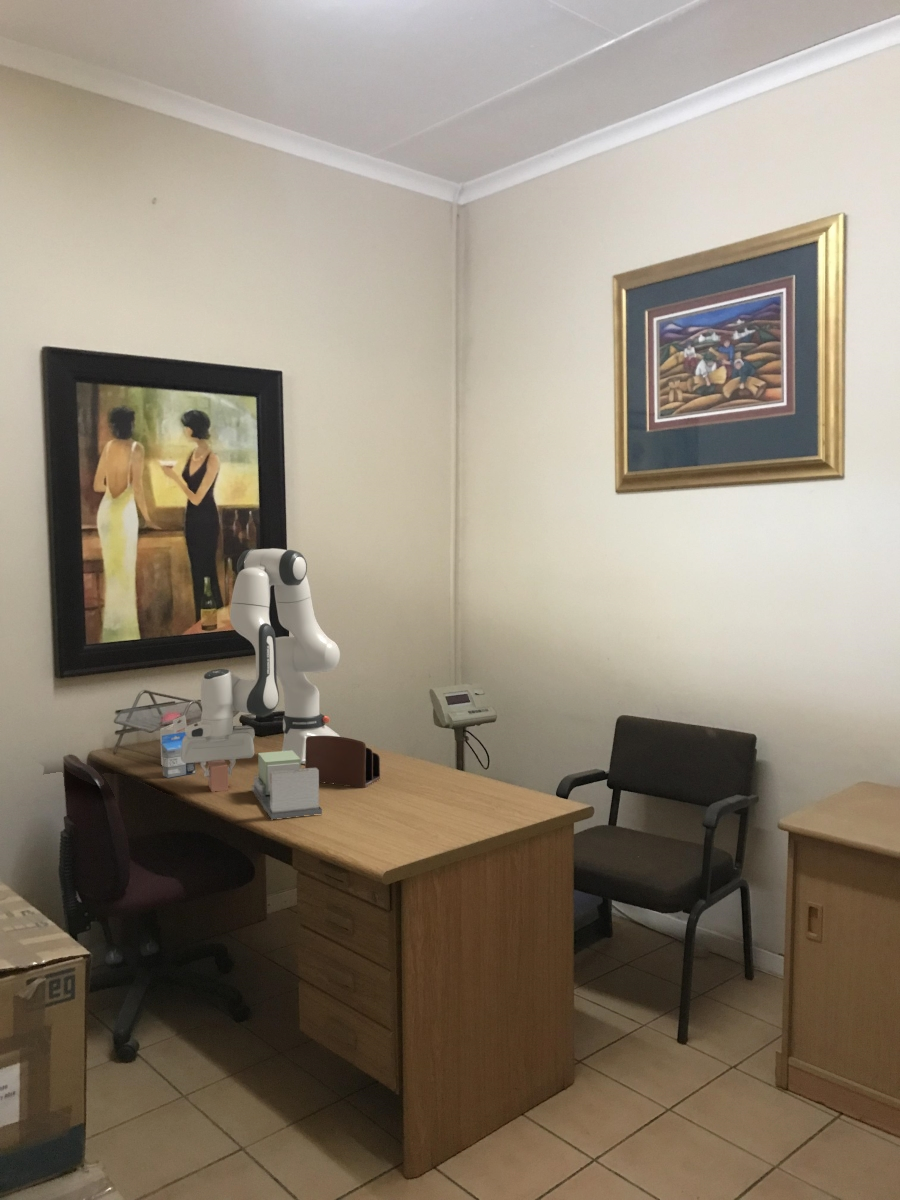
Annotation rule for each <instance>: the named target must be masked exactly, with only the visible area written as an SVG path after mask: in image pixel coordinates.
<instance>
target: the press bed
mask: <svg viewBox="0 0 900 1200" xmlns="http://www.w3.org/2000/svg"><path fill="white" fill-rule="evenodd" d="M253 781H254V783H253V785H251V791H252V793H253V792H254V793H253V795H254V794H255V795H256V796H255V795H254V796H255V797H257V798H256V799H257V801H258V800H259V801H258V802H259V804H260V803H261V804H260V805H261V807H262V806H263V807H262V808H263V810H264V809H265V810H264V812H265V813H266V812H267V813H268V815H269V816H270V818H271V819H277V818H287V817H296V816H304V815H314V814H322V813H323V812H322V811H323V810H322V808H321V807H320V792H319V791H320V782H319V770H318V769H317V768H305V767H304V768H301V769H294V770H283V771H272V772H270V795H266V788H265V786H264V784H263V783H262V782H261V780H260V779H259V777H258V775H256V774H255V775H253ZM267 813H266V814H267ZM268 815H267V816H268ZM322 815H323V814H322ZM269 816H268V817H269ZM270 818H269V819H270ZM271 819H270V820H271Z"/></svg>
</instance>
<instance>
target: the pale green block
mask: <svg viewBox="0 0 900 1200" xmlns="http://www.w3.org/2000/svg"><path fill="white" fill-rule="evenodd" d="M257 758H258V760H257V762H258V763H257V764H258V767H257V768H258V769H257V770H258V771H257V773H258V775H257V776H258V777H259V779H260V780H261V782H262V783H263V784H264V786H265V788H266V795H270V772H272V771H283V770H294V769H302V767H301V765H302V764H301V759H300V758H299V757H298V756H297V755H296V754H295V753H294V752H293V751H292V750H290V751H282V750H280V751H268V752H267V751H266V752H258V753H257Z"/></svg>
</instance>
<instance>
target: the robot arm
mask: <svg viewBox="0 0 900 1200" xmlns="http://www.w3.org/2000/svg"><path fill="white" fill-rule="evenodd" d="M236 570H237V575H236V579H235V583H234V585H233V588H232V596H231V601H230V607H229V608H230V609H229V620H230V625H231V626H232V628H233V629H234V631H236V633H238V634H239V635H240V636H242V637H244V639H246V640H247V641H249V642H250V644H252V646H253V648H254V652H255V679H249V678H245V677H240V676H238V675H235V674H233V673H232V672H231V671H230V670H229V669H226V668H217V669H212V670H209V671H207V672H206V673H204V675H203V676H202V679H201V685H200V704H201V707H202V708H201V709H202V710H201V717H200V721H199V720H198V721H197V722H194V723H192V724H189V725H187V726H186V727H185V734H186V736H185V737H184V738H183V740H182V745H181V760H182V761H183V762H184V763H194V762H195V763H199V765H200V766H201V768H202V769H203V771H204V772H203V773H204V774H203V775H204V778H208V777H210V769H208V768H207V767H206V766H207V762H210V761H222V760H224V761H229V765H228V776H232V774H233V768H234V766H235V764H236V761H237V760H238V759H239V760H240V759H251V758H253V757H254V755H255V746H254V739H255V737H256V736H255V734H256V732H255V729H254V727H253V726H250V725H247V724H245V725H234V714H233V712H235V711H236V712H239V713H247V714H251V715H254V716H257V717H262V718H263V717H264V718H265V717H267V716H269V715H271V714H272V713H273V712H274V711H275V709H276V708H277V707H278V705H279V702H280V692H279V687H278V679H279V682H280V684H281V687H282V691H283V702H284V714H283V716H282V717H283V718H282V731H283V743H282V749H281V751H290V750H292V751H293V752H294V753H295V754H296V755H297V756H298V757H299V758H300V759H301V765H305V759H306V738H307V737H309V736H338V737H341V736H340V734H339V733H337V732H336V731H334V730H333V729H332V728H330V727H329V726H328V725H326V724H329V723H330V717H329V716H328V715H327V716H326V715H324V714H322V713H320V691H319V689H318V687H317V685H315V684H313V683H312V682H311V681H310V680H309V679H308V678H307V676H306V673H313V674H314V673H315V674H318V673H319V674H321V673H327V672H332V671H334V670H335V669H336V668H337V666H338V665H339V662H340V659H341V651H340V648H339V646H338V645H337V643H336V642H335V641H334V640H332V639H331V638H330V637H329V636H327V635H326V633H325V632H324V631H323V629H322V628H321V627H320V625H319V623H318V621H317V618H316V616H315V610H314V607H313V606H314V605H313V601H312V593H311V587H310V583H309V580H308V576H307V572H308V564H307V561H306V558H305V557H304V555H303V554H302V553H301V552H299V551H296V550H293V549H283V548H274V547H273V548H261V549H257V548H251V549H247V550H244V551H243V552H242V553H241V554H240V556H239V558H238V560H237V563H236ZM272 586H274V590H273V591H274V599H275V605H276V611H277V617H278V622H279V624H280V625H281V627H282V628H284V629H285V630H287V631H288V632H290V633H291V634H292V636H278V637H276V633H275V632H276V631H275V629H274V628H273V626H272V625H271V621H270V606H271V605H270V604H271V587H272ZM277 678H278V679H277Z"/></svg>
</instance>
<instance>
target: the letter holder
mask: <svg viewBox="0 0 900 1200" xmlns="http://www.w3.org/2000/svg"><path fill="white" fill-rule="evenodd" d="M380 759H381V757H380V755H379V754H378V753H376V752H374V751H373V750H372V749H371V748H369V747H367V745H366V743H365V742H364V741H362V740H358V739H354V738H349V737H344V736H340V737H338V736H309V737H307V738H306V759H305V764H304V765H305V767H304V769H305V768H317V769H318V770H319V783H321V782H325V783H324V784H329V783H334V784H333V785H336V784H342V785H341V786H344V785H350V786H349V787H353V786H357V787H356V788H361V787H365V788H367V787H369V786H371V785H373V784H374V782H375V783H376V782H378V781H380V780H381V765H380V764H381V760H380ZM379 779H380V780H379ZM377 780H378V781H377ZM372 783H373V784H372ZM370 784H371V785H370ZM368 785H369V786H368ZM366 786H367V787H366Z"/></svg>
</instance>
